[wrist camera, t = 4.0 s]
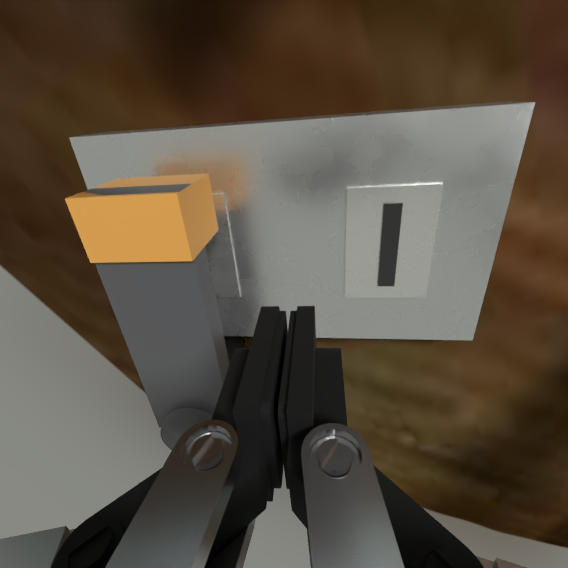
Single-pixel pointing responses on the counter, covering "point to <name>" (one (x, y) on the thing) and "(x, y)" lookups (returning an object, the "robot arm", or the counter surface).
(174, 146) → the panel
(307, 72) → the counter surface
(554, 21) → the counter surface
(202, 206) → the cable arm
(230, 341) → the pivot post
